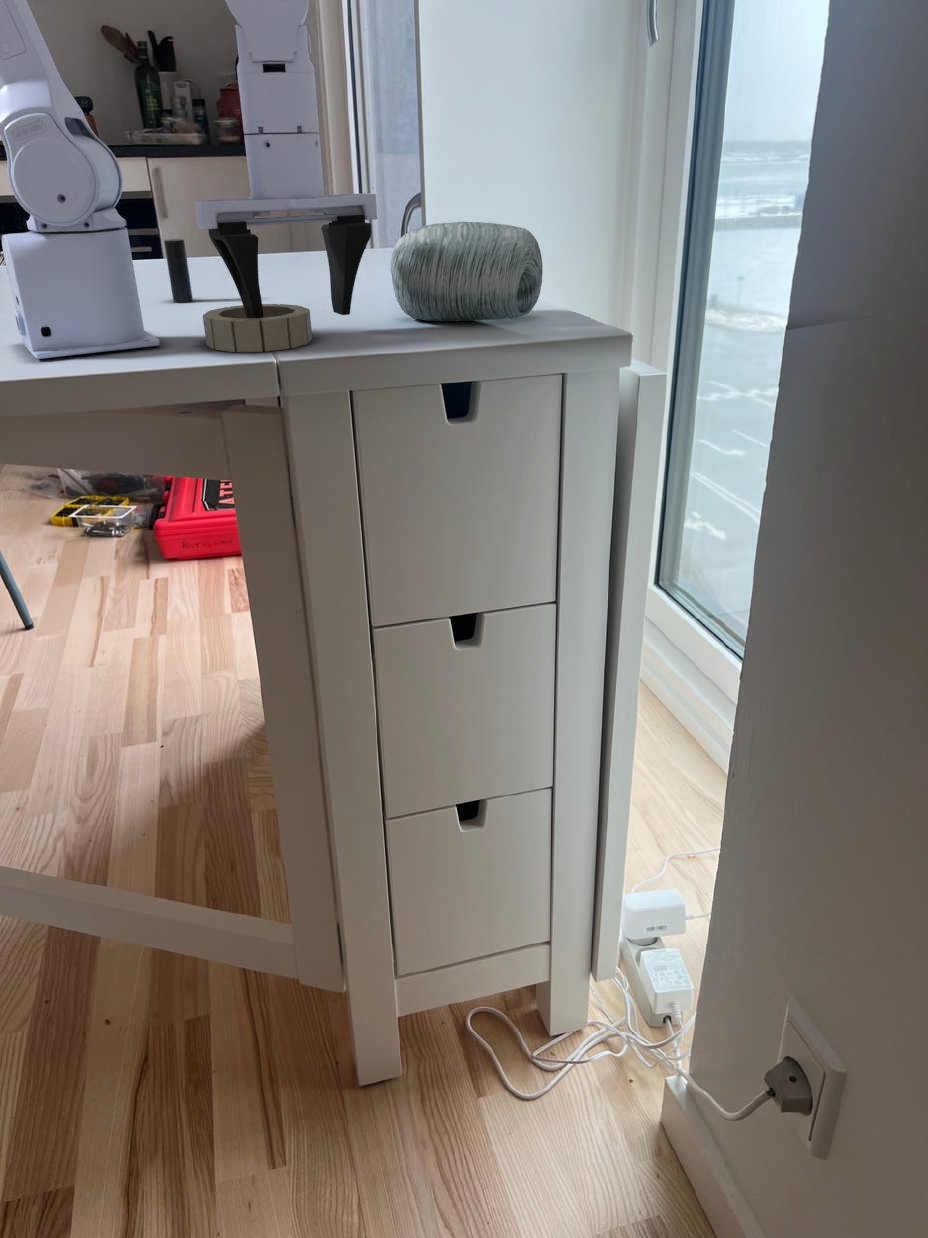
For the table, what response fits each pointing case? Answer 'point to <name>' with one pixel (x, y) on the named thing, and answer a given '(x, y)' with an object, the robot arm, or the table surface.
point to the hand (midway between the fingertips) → (299, 317)
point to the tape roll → (258, 328)
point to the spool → (466, 271)
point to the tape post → (178, 270)
